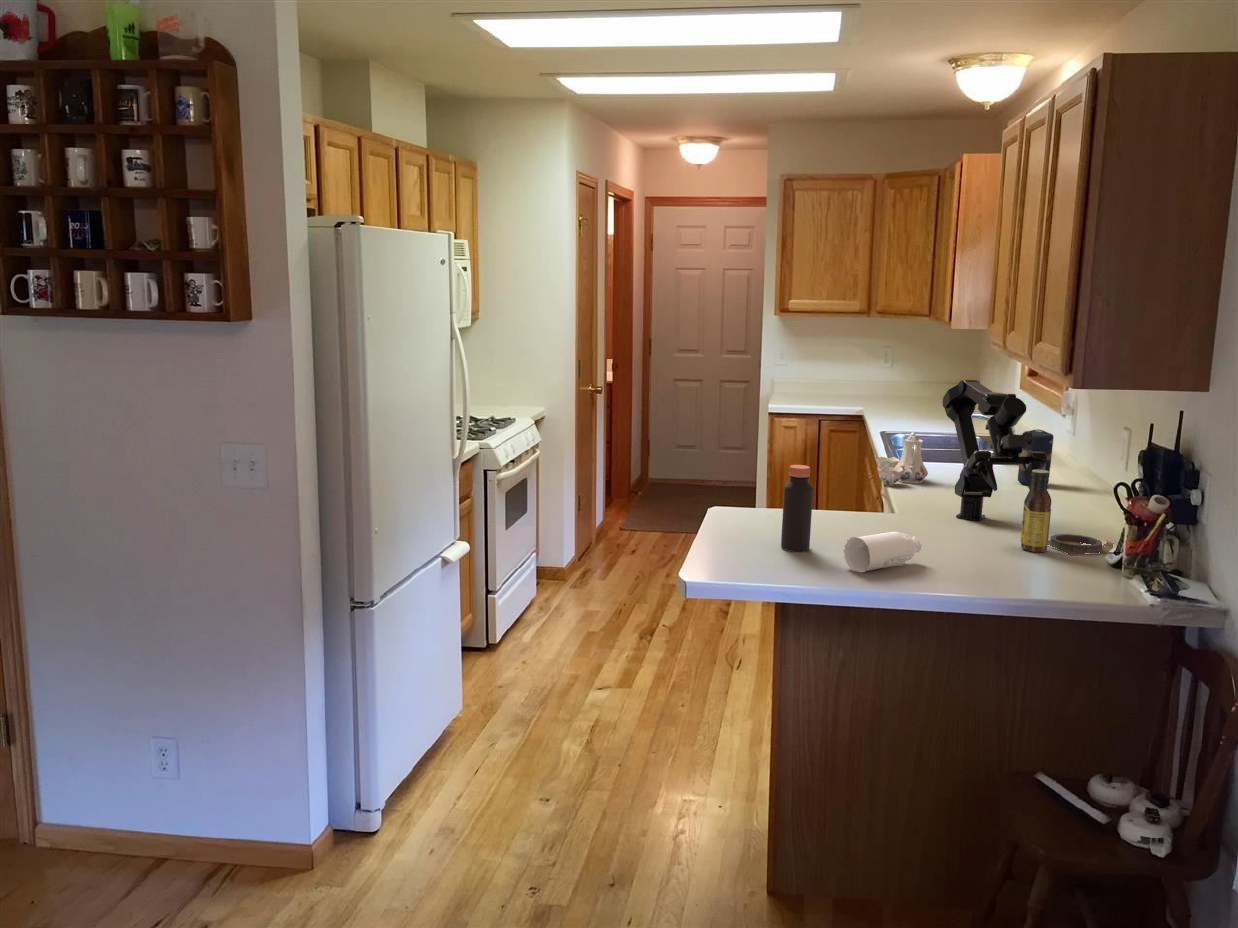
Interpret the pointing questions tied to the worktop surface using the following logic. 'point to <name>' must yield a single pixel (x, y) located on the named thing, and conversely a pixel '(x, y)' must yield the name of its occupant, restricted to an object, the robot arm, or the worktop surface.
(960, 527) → the worktop surface
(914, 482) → the chinaware
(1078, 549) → the cup bracket
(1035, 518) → the sauce bottle
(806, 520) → the vinegar
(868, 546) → the white bottle
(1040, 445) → the candle
